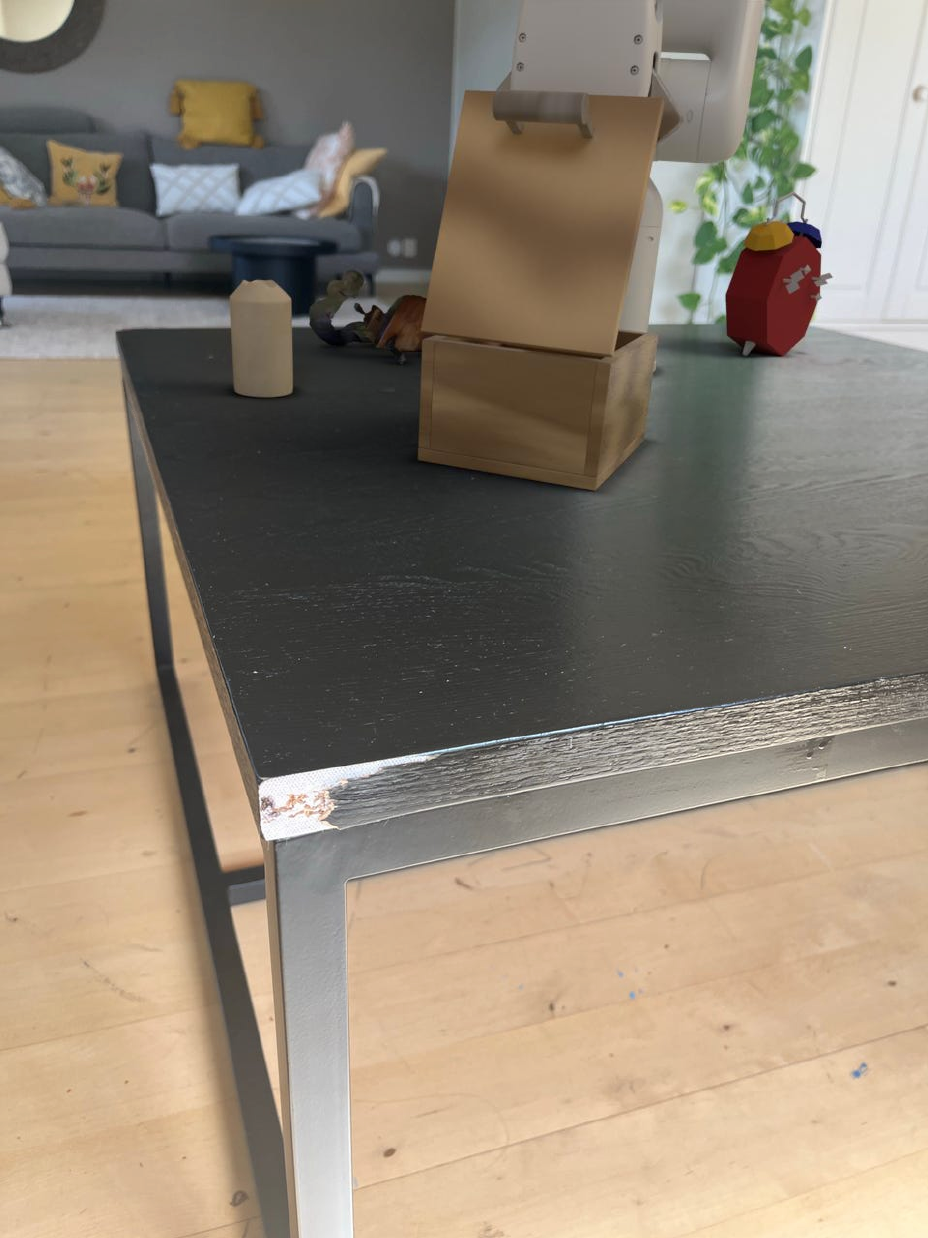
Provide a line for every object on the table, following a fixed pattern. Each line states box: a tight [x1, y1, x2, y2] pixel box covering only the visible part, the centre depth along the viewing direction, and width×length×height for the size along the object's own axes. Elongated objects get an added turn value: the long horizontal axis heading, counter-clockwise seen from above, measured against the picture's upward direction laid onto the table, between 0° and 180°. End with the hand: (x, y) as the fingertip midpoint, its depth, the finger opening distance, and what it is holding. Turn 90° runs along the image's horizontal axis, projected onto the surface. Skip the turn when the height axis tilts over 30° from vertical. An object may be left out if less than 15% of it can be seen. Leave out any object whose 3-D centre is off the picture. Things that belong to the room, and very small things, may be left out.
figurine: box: [308, 269, 435, 365], centre depth 110 cm, size 15×9×13 cm
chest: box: [417, 329, 659, 492], centre depth 75 cm, size 16×14×9 cm
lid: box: [421, 89, 665, 358], centre depth 63 cm, size 17×14×5 cm
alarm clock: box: [724, 190, 834, 357], centre depth 124 cm, size 15×9×20 cm, turn 136°
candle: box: [229, 279, 294, 398], centre depth 88 cm, size 6×6×10 cm
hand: (569, 223), depth 72 cm, fingers closed on beer can, 5 cm apart
